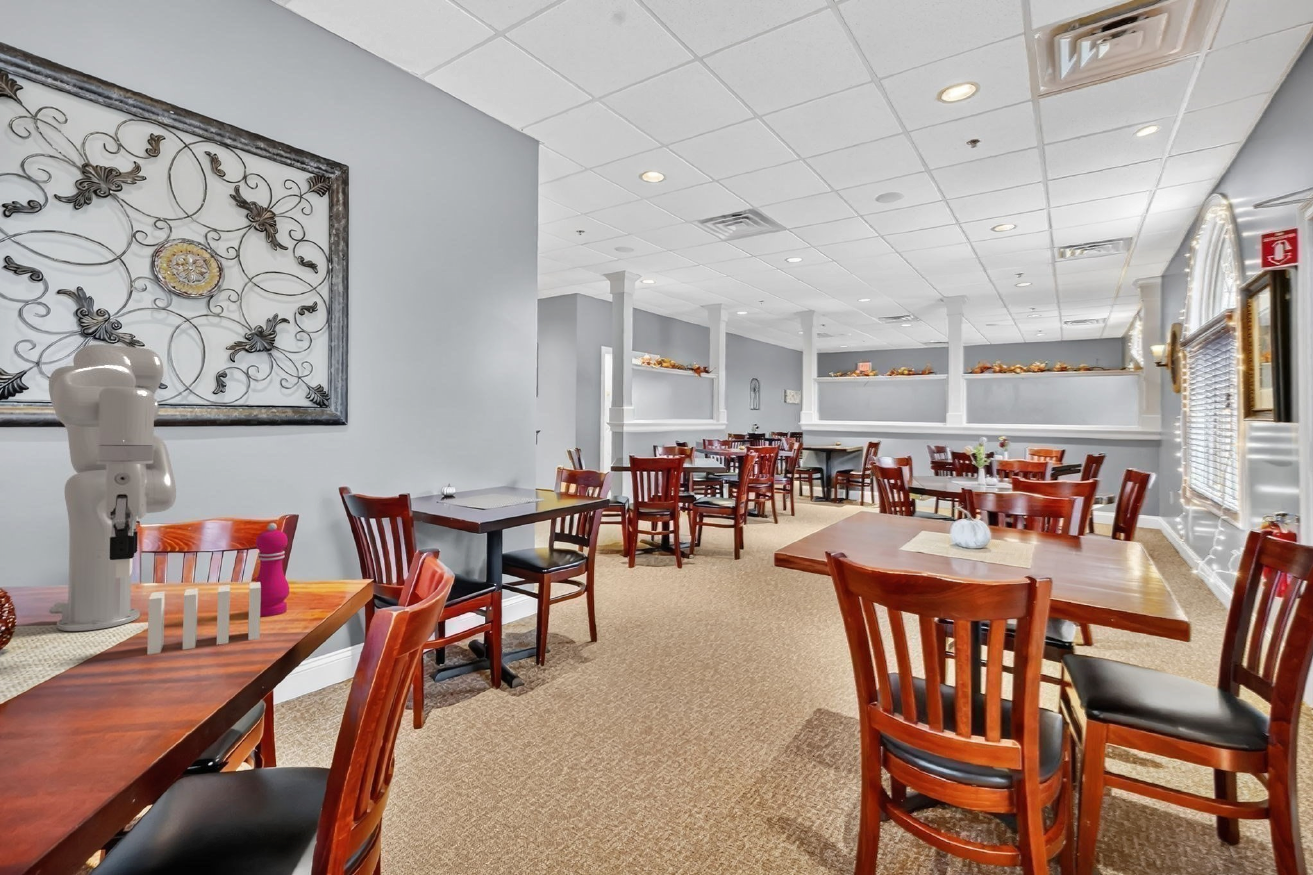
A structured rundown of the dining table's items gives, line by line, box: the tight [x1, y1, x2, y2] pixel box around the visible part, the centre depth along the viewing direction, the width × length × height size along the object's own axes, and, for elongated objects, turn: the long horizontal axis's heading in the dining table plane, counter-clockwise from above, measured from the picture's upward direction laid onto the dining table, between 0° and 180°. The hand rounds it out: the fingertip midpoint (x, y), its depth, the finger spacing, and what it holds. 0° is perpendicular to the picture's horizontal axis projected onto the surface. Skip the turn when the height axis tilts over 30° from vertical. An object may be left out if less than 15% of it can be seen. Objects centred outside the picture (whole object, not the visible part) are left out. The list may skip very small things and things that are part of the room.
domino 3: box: [216, 584, 231, 646], centre depth 116 cm, size 2×5×10 cm, turn 35°
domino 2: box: [182, 587, 199, 651], centre depth 113 cm, size 2×5×10 cm, turn 35°
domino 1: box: [146, 591, 166, 656], centre depth 110 cm, size 2×5×10 cm, turn 35°
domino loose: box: [116, 522, 134, 578], centre depth 108 cm, size 2×5×10 cm, turn 37°
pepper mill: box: [254, 522, 290, 617], centre depth 134 cm, size 7×7×20 cm
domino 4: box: [247, 582, 261, 641], centre depth 119 cm, size 2×5×10 cm, turn 35°
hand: (123, 555), depth 108 cm, fingers closed on domino loose, 5 cm apart
